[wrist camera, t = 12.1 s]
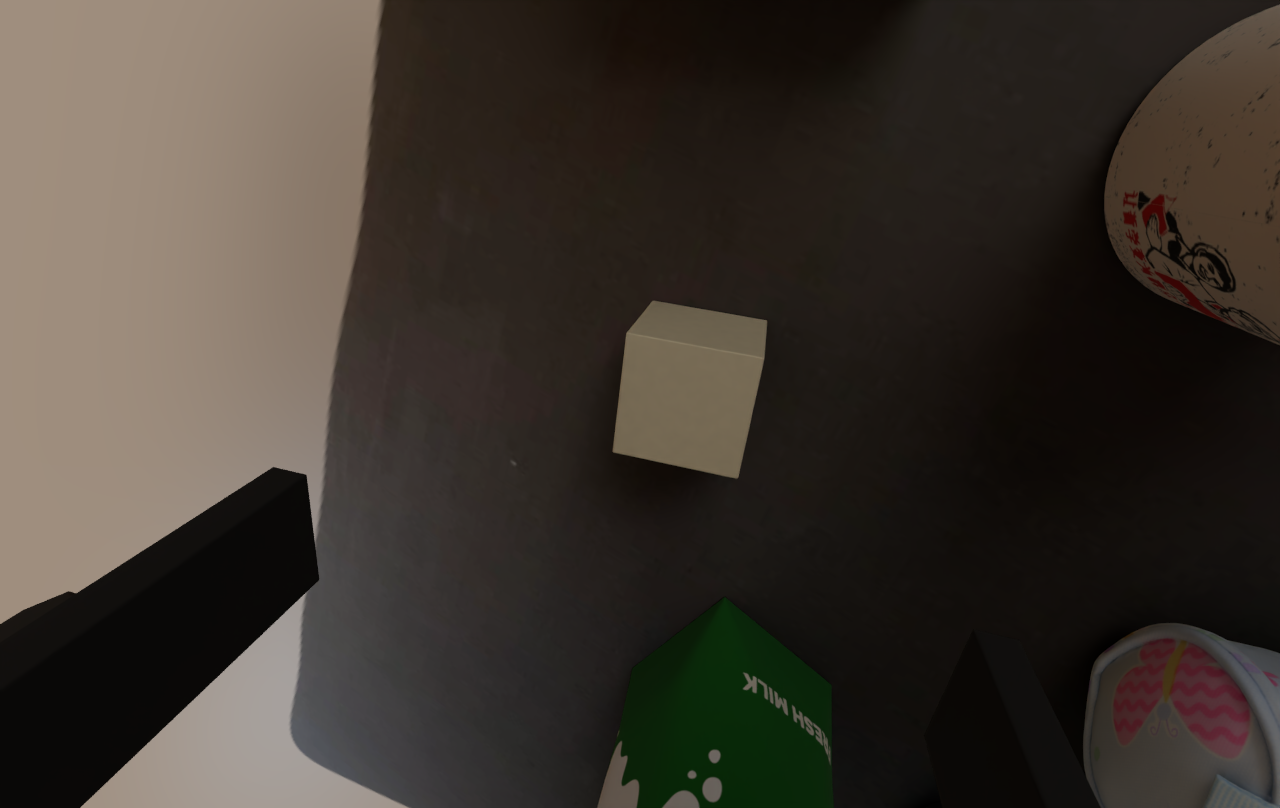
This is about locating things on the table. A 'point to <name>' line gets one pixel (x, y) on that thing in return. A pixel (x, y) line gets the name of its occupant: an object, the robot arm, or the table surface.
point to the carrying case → (935, 805)
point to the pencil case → (1183, 722)
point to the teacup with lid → (1207, 181)
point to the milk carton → (723, 723)
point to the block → (689, 387)
